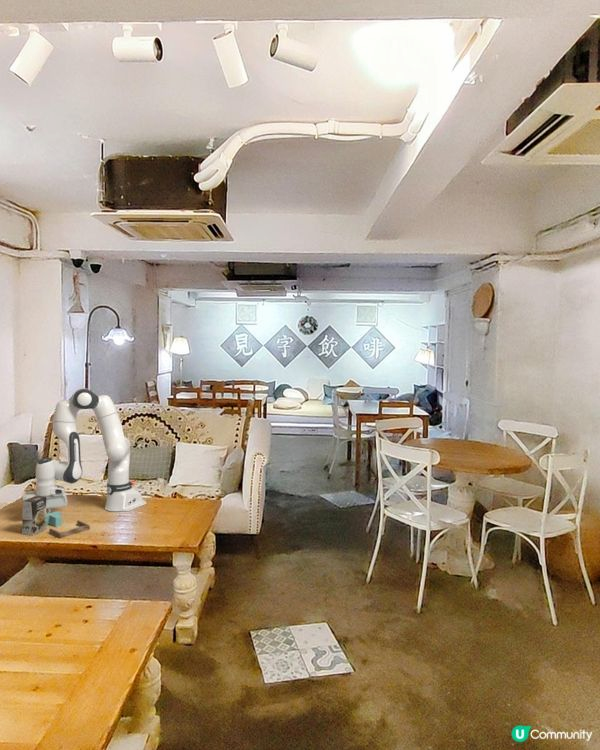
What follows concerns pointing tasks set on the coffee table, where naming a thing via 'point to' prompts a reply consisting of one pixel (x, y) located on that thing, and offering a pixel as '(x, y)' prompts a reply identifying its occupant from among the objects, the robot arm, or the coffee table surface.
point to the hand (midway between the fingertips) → (45, 516)
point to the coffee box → (34, 515)
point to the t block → (54, 518)
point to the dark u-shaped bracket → (70, 532)
